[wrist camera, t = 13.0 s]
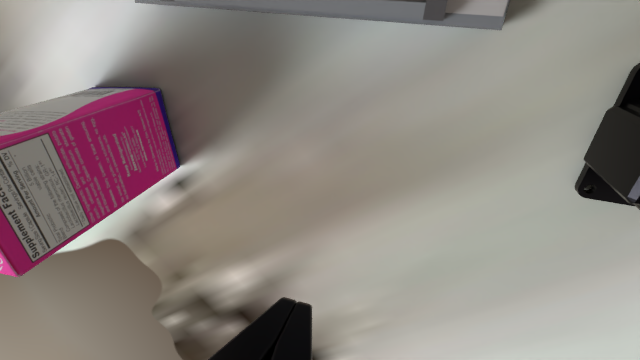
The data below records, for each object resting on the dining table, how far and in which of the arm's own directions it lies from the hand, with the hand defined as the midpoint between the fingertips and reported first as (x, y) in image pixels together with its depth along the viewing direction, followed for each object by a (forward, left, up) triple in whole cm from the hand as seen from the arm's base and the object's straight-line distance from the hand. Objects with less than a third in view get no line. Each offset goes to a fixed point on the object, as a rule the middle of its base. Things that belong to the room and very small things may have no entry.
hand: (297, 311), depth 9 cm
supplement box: (+16, +1, -12) cm, 20 cm away
